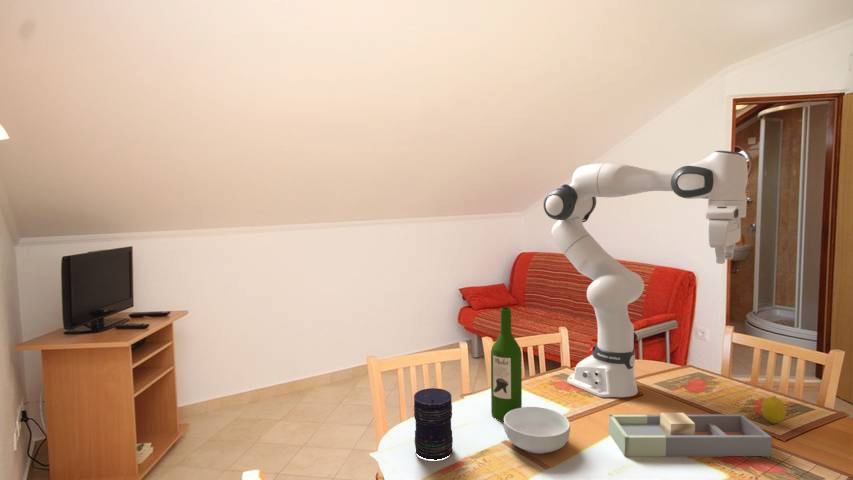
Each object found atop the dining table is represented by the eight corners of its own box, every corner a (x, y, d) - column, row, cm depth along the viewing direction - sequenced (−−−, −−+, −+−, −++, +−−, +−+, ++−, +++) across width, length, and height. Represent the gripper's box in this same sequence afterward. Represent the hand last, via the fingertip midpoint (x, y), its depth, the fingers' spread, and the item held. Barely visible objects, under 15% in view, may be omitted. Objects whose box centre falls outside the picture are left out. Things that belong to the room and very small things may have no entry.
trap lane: (624, 456, 119) (625, 437, 118) (608, 432, 131) (608, 414, 130) (770, 456, 117) (772, 437, 117) (740, 431, 129) (741, 414, 129)
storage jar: (416, 441, 128) (414, 388, 127) (452, 441, 128) (451, 387, 126) (413, 462, 118) (412, 404, 117) (453, 462, 118) (452, 404, 117)
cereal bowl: (581, 444, 125) (581, 418, 124) (550, 472, 113) (550, 443, 112) (525, 423, 137) (525, 400, 136) (491, 447, 125) (491, 421, 124)
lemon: (789, 429, 130) (790, 401, 129) (766, 427, 131) (768, 399, 130) (778, 419, 135) (780, 392, 135) (757, 418, 137) (758, 391, 136)
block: (670, 438, 121) (670, 423, 121) (659, 427, 127) (660, 412, 126) (694, 438, 121) (695, 423, 120) (682, 427, 127) (683, 412, 126)
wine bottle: (488, 419, 140) (486, 311, 136) (495, 406, 148) (494, 303, 144) (518, 424, 136) (518, 313, 133) (524, 410, 144) (524, 305, 141)
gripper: (722, 209, 139) (720, 256, 140) (703, 212, 124) (702, 264, 125) (748, 209, 134) (745, 257, 136) (732, 212, 120) (729, 267, 121)
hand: (724, 261), depth 131 cm, fingers open, 8 cm apart
